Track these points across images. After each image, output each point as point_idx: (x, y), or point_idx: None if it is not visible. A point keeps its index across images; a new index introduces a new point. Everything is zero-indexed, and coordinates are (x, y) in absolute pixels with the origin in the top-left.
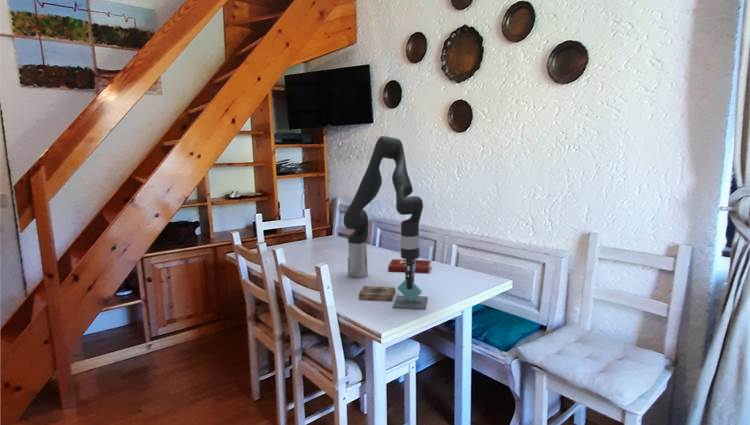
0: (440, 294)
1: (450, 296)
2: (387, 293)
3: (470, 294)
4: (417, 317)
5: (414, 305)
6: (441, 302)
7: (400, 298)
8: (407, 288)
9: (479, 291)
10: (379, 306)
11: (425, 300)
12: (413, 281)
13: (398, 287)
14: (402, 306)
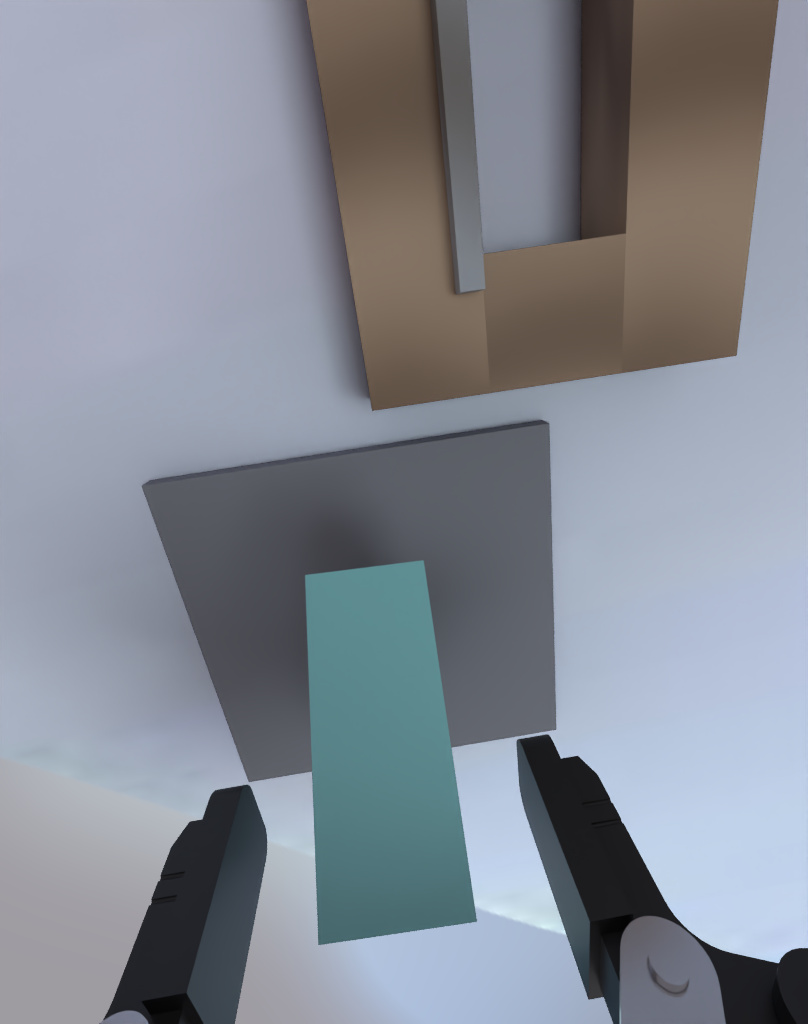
0: (654, 782)
1: None
2: (435, 316)
3: None
4: (44, 757)
5: (279, 685)
6: None
7: (441, 497)
8: (216, 801)
9: None
10: (124, 289)
11: None
12: (533, 832)
13: (307, 609)
14: (198, 589)
